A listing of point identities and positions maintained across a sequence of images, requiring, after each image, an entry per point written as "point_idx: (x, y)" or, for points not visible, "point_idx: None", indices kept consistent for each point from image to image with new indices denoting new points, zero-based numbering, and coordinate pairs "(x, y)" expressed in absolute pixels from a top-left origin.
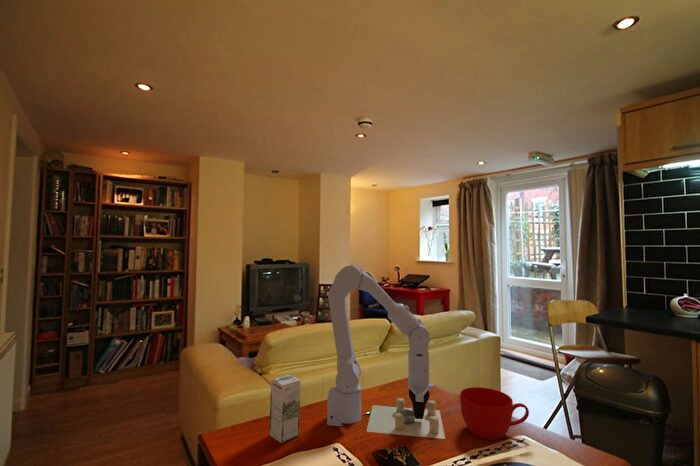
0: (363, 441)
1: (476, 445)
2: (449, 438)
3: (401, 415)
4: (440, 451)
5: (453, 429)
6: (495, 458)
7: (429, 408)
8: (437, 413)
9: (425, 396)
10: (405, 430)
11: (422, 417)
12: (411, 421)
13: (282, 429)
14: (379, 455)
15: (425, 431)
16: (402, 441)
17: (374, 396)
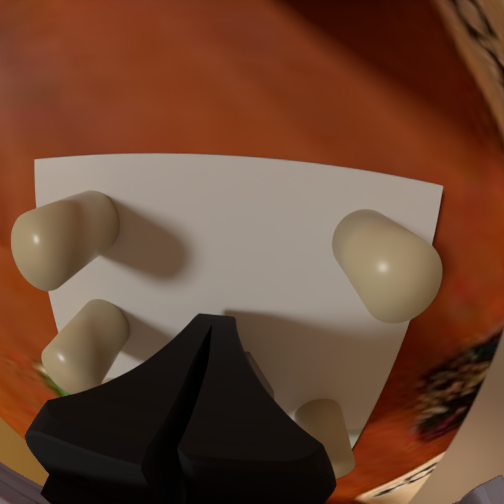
0: (364, 469)
1: (428, 17)
2: (381, 138)
3: (332, 464)
4: (486, 229)
5: (253, 78)
6: (496, 7)
7: (89, 259)
8: (73, 177)
9: (317, 496)
10: (338, 393)
11: (235, 326)
12: (259, 377)
13: None
14: (446, 425)
15: (356, 297)
16: (390, 385)
17: (25, 418)
